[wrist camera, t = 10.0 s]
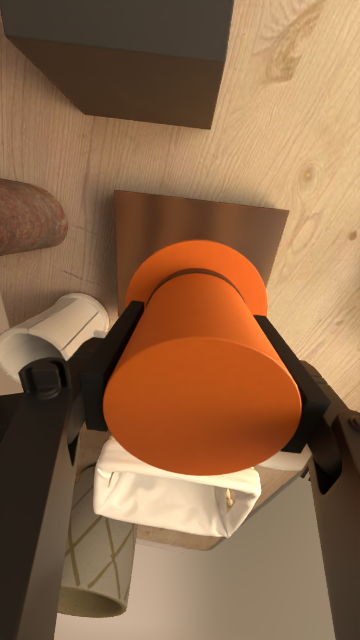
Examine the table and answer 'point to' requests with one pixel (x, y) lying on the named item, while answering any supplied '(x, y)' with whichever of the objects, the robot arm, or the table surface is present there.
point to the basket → (170, 495)
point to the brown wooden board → (191, 231)
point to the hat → (200, 367)
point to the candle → (29, 218)
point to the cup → (53, 332)
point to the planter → (95, 558)
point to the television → (128, 54)
